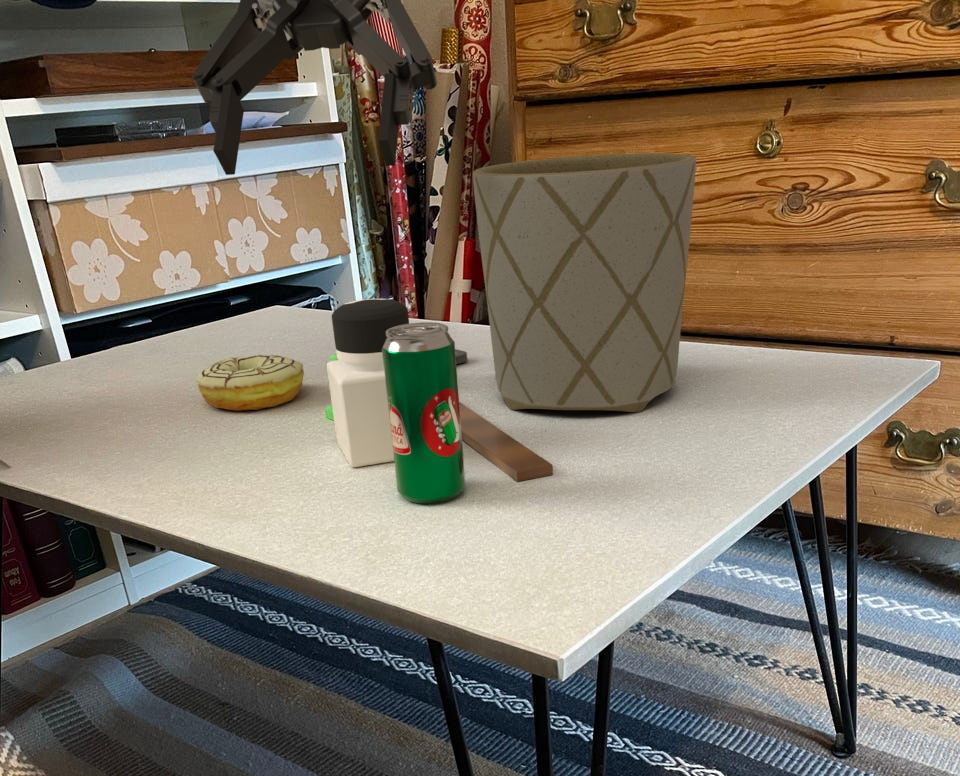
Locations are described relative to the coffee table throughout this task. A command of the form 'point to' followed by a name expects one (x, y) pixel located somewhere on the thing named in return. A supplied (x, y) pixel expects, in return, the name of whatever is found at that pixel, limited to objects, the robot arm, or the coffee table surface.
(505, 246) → the planter
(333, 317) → the medicine bottle
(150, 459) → the coffee table surface
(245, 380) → the decorated donut
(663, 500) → the coffee table surface
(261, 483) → the coffee table surface
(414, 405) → the soda can
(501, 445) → the wooden plank
